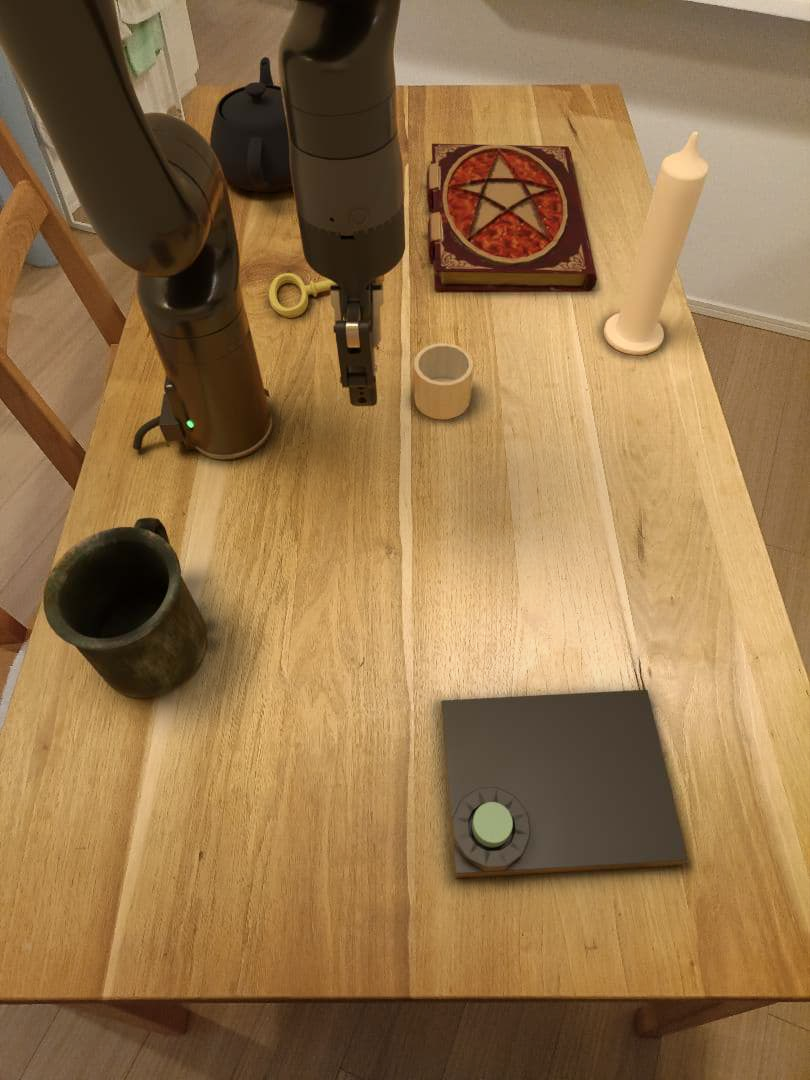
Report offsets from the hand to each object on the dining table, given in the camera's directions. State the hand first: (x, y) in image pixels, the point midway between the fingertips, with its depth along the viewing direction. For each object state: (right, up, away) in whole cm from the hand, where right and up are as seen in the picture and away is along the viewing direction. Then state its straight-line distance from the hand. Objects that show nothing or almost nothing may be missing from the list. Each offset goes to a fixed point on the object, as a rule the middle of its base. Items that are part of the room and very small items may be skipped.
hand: (366, 366), depth 66 cm
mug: (-20, -24, +6) cm, 32 cm away
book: (+17, +29, +40) cm, 52 cm away
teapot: (-17, +40, +47) cm, 64 cm away
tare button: (+10, -37, -7) cm, 39 cm away
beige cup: (+8, +1, +22) cm, 23 cm away
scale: (+16, -35, -2) cm, 39 cm away
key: (-8, +16, +32) cm, 37 cm away
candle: (+31, +10, +27) cm, 43 cm away
